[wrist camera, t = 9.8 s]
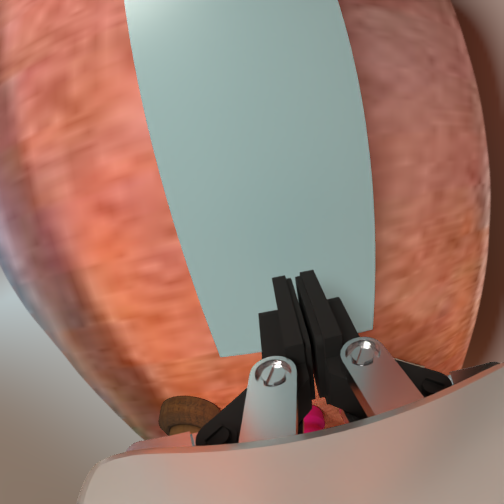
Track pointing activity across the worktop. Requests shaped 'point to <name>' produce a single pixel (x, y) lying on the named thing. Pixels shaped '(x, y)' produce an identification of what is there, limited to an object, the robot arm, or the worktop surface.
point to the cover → (259, 152)
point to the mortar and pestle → (185, 414)
